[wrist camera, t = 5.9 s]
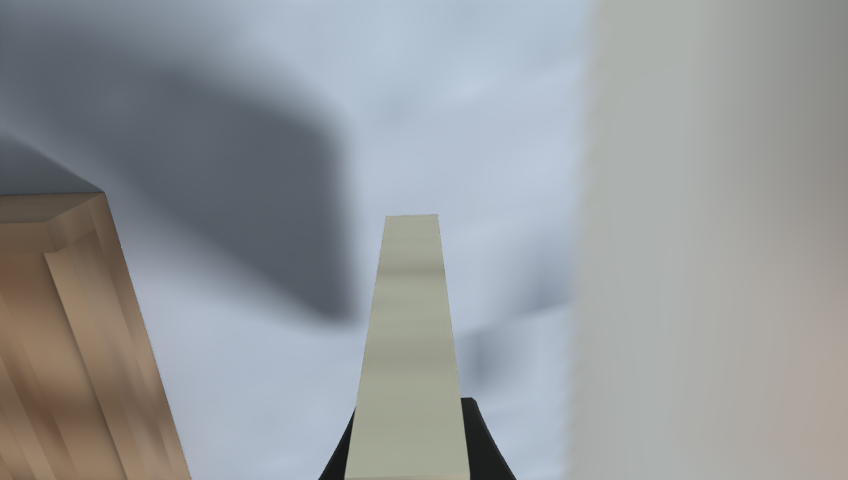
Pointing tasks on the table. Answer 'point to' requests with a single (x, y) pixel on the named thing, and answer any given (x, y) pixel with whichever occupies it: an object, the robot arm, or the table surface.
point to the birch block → (409, 366)
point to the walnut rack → (76, 350)
